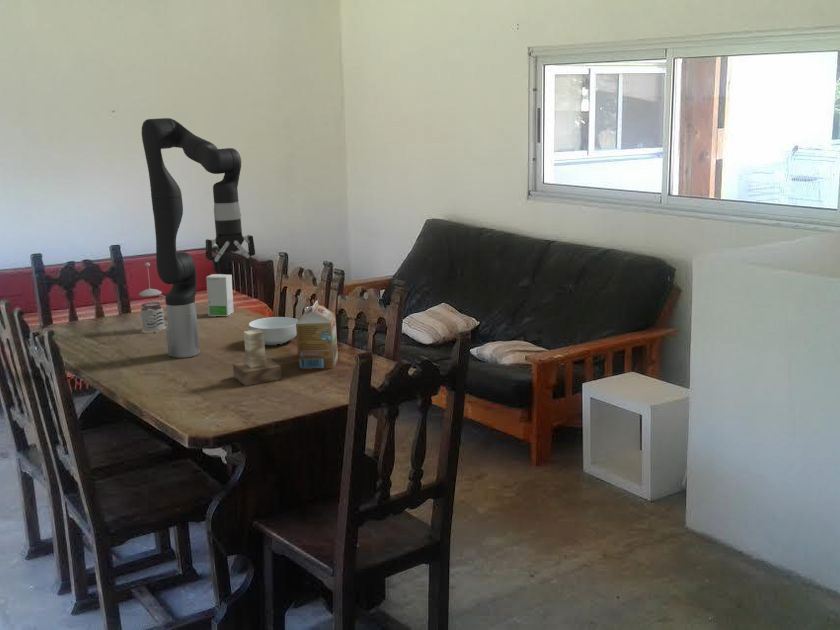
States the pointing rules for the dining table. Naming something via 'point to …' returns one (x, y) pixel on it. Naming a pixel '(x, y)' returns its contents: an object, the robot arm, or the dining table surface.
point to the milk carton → (317, 338)
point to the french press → (152, 305)
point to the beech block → (254, 348)
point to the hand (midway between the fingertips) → (232, 272)
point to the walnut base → (257, 372)
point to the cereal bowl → (275, 329)
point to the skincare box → (219, 294)
